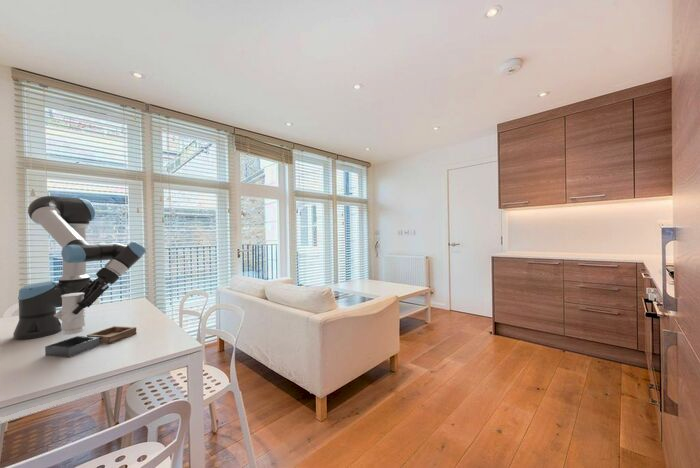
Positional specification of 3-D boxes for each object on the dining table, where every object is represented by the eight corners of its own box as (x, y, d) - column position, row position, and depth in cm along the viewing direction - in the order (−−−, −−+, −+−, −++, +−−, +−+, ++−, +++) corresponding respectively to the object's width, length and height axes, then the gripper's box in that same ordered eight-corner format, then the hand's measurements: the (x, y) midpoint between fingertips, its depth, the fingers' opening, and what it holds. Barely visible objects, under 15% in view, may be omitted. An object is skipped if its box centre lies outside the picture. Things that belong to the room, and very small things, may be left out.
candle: (75, 328, 117) (74, 292, 117) (89, 329, 116) (89, 292, 116) (55, 334, 110) (55, 296, 110) (71, 335, 109) (70, 296, 109)
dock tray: (86, 342, 122) (86, 335, 122) (114, 332, 134) (114, 326, 134) (110, 343, 120) (110, 336, 120) (136, 333, 132) (136, 327, 132)
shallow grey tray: (45, 355, 109) (45, 346, 109) (77, 344, 120) (77, 336, 120) (68, 357, 107) (68, 348, 107) (99, 345, 118) (99, 337, 118)
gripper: (130, 279, 121) (80, 328, 108) (108, 275, 131) (60, 320, 117) (115, 268, 117) (61, 318, 103) (94, 265, 126) (42, 310, 112)
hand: (61, 319), depth 110 cm, fingers closed on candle, 7 cm apart
